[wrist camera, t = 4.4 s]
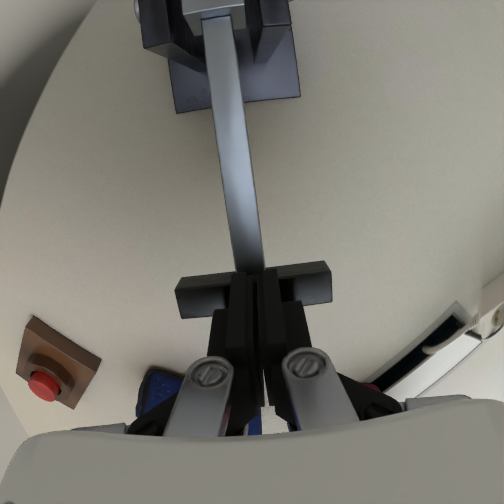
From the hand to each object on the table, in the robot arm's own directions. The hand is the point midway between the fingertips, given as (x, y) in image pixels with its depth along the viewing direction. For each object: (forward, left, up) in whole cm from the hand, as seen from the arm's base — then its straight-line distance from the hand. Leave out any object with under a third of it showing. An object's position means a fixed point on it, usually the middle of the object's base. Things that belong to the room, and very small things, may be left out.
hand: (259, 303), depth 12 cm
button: (-28, -18, -11) cm, 35 cm away
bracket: (0, +12, -15) cm, 19 cm away
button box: (-28, -18, -15) cm, 37 cm away
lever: (0, +6, -3) cm, 7 cm away
